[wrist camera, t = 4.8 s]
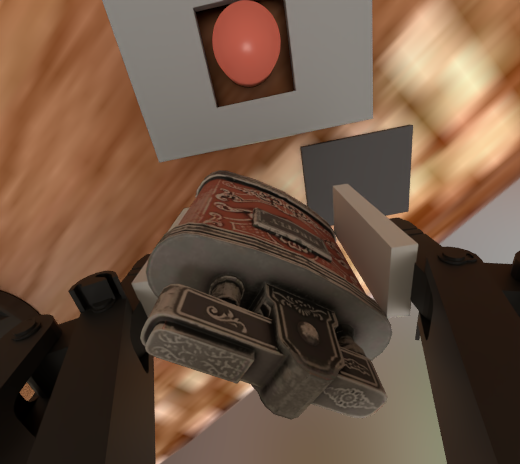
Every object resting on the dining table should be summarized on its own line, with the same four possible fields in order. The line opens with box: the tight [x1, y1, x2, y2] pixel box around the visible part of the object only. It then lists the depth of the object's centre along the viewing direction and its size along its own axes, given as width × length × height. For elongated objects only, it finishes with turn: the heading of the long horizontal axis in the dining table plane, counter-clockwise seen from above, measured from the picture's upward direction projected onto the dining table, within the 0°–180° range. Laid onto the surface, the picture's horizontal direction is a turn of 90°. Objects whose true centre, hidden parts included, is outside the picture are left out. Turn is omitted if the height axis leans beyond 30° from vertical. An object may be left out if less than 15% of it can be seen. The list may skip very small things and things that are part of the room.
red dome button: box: [212, 0, 281, 87], centre depth 21 cm, size 5×5×5 cm
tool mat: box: [301, 125, 413, 226], centre depth 31 cm, size 12×10×1 cm
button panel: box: [102, 0, 373, 162], centre depth 24 cm, size 20×14×5 cm
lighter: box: [140, 170, 392, 419], centre depth 10 cm, size 8×3×10 cm, turn 62°
